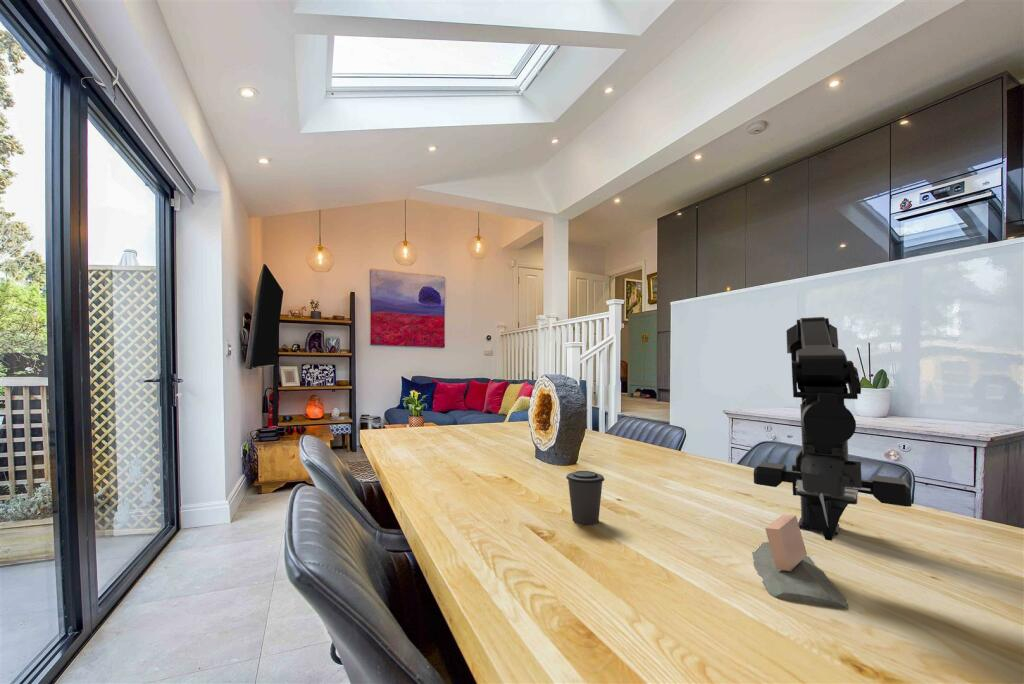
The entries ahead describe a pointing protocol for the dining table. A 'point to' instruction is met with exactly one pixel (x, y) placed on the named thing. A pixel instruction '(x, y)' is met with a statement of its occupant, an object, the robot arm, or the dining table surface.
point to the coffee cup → (585, 496)
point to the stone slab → (796, 581)
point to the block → (786, 542)
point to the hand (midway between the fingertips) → (828, 539)
